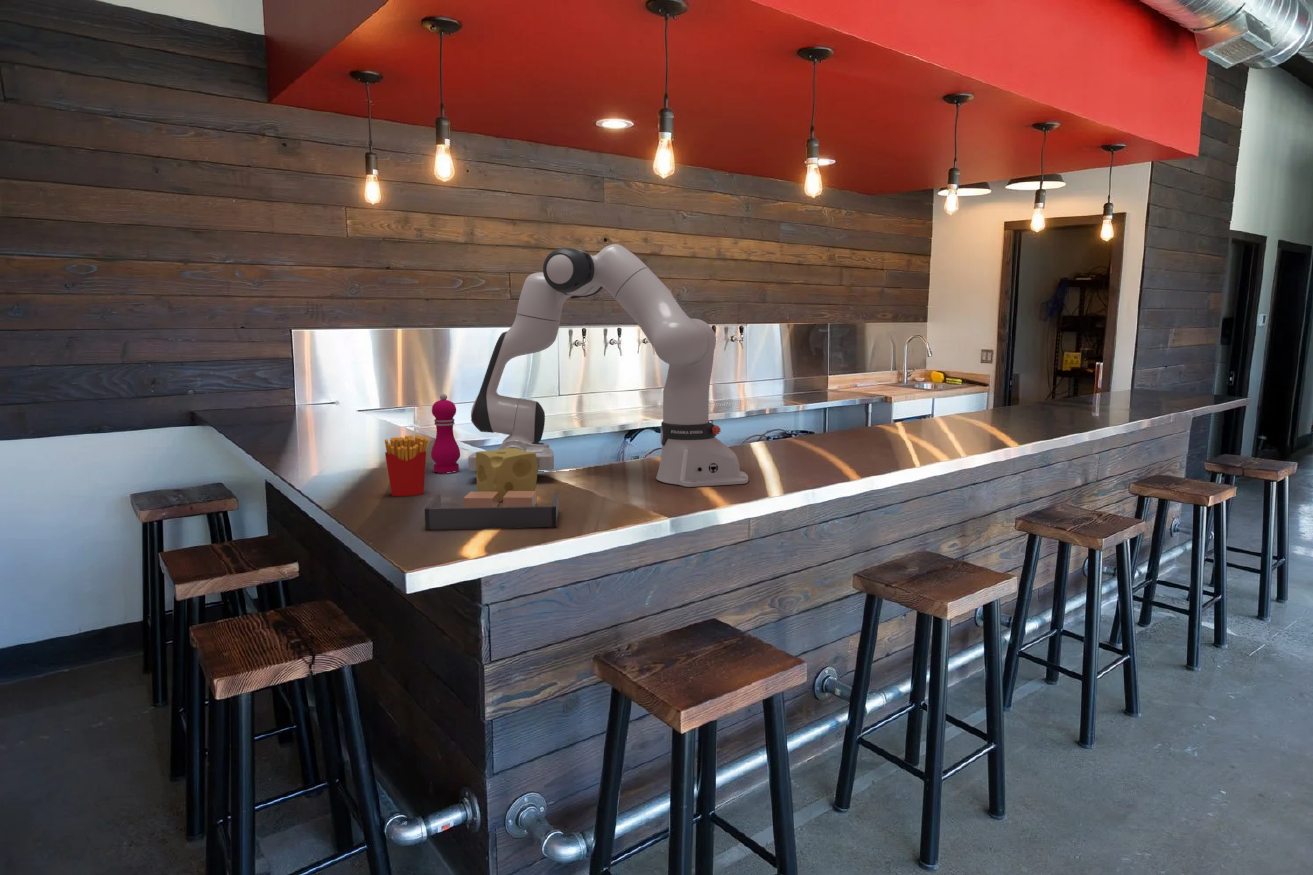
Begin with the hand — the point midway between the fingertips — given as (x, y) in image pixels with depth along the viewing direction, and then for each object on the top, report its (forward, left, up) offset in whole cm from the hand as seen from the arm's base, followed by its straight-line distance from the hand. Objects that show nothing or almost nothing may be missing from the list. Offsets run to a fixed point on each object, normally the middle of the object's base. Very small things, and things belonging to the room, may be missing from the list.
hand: (508, 467), depth 184 cm
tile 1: (+4, +18, -5) cm, 19 cm away
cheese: (0, +7, -5) cm, 9 cm away
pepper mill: (+18, -21, -5) cm, 28 cm away
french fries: (+22, +4, -5) cm, 23 cm away
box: (0, +29, -5) cm, 29 cm away
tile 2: (-4, +18, -5) cm, 19 cm away
